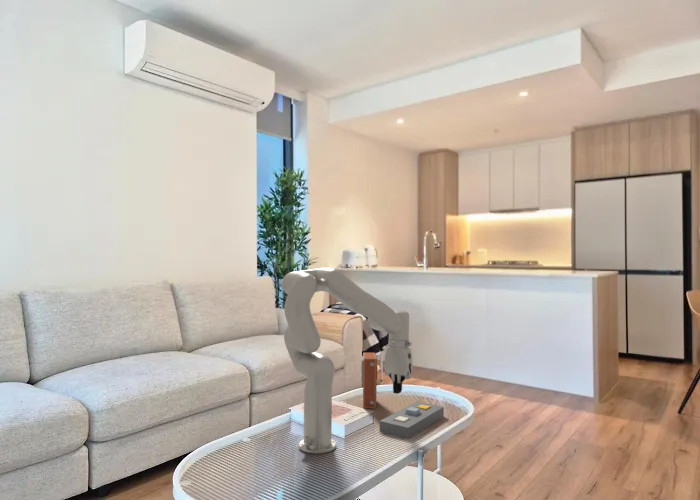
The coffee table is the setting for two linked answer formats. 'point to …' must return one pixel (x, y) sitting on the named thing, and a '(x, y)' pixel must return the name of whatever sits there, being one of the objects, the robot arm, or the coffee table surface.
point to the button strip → (411, 421)
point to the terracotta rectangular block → (369, 379)
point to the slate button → (413, 411)
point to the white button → (401, 419)
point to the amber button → (423, 407)
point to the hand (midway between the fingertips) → (397, 392)
